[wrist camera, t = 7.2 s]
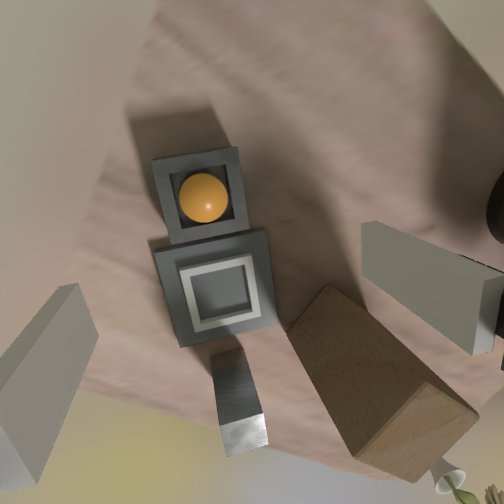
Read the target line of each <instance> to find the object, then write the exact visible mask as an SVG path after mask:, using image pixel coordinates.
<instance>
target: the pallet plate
mask: <svg viewBox="0 0 504 504" xmlns="http://www.w3.org/2000/svg"><path fill="white" fill-rule="evenodd" d="M154 256H155V260H156V263H157V267H158V270H159V274H160V278H161V281H162V285H163V288H164V292H165V295H166V299H167V302H168V306H169V310H170V313H171V317H172V320H173V324H174V327H175V331H176V335H177V338H178V342H179V345H180V348H182V347H186V346H190V345H194V344H198V343H202V342H206V341H210V340H214V339H218V338H222V337H226V336H230V335H234V334H238V333H242V332H246V331H250V330H254V329H258V328H261V327H265V326H269V325H273V324H277V323H278V315H277V308H276V300H275V293H274V285H273V277H272V270H271V262H270V255H269V247H268V240H267V232H266V230H265V229H264V228H261V229H256V230H251V231H246V232H241V233H237V234H232V235H227V236H222V237H217V238H212V239H207V240H202V241H197V242H193V243H188V244H183V245H178V246H173V247H168V248H163V249H158V250H154Z"/></svg>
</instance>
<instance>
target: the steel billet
mask: <svg viewBox="0 0 504 504" xmlns="http://www.w3.org/2000/svg"><path fill="white" fill-rule="evenodd" d="M210 361H211V368H212V376H213V383H214V390H215V398H216V405H217V412H218V420H219V427H220V431H221V435H222V438H223V443H224V447H225V450H226V454H227V457H228V456H232V455H235V454H238V453H242V452H245V451H248V450H251V449H254V448H258V447H261V446H264V445H267V444H268V438H267V432H266V427H265V421H264V415H263V411H262V408H261V405H260V401H259V398H258V395H257V391H256V388H255V385H254V381H253V378H252V375H251V371H250V368H249V365H248V362H247V358H246V355H245V352H244V348H239V349H235V350H231V351H228V352H224V353H220V354H216V355H212V356H210Z"/></svg>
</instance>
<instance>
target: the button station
mask: <svg viewBox="0 0 504 504" xmlns="http://www.w3.org/2000/svg"><path fill="white" fill-rule="evenodd" d="M150 164H151V168H152V172H153V176H154V180H155V184H156V187H157V191H158V195H159V199H160V203H161V207H162V211H163V215H164V219H165V223H166V227H167V230H168V234H169V238H170V242H171V245H173V244H178V243H183V242H188V241H193V240H198V239H203V238H208V237H213V236H218V235H222V234H227V233H232V232H237V231H242V230H247V229H250V226H249V219H248V213H247V206H246V200H245V193H244V186H243V180H242V173H241V167H240V160H239V154H238V147H233V146H231V147H225V148H219V149H212V150H206V151H200V152H194V153H188V154H181V155H175V156H169V157H163V158H157V159H152V160H151V161H150ZM196 172H207V173H210V174H212V175H214V176H215V177H216V178H218V180H219V181H220V182H221V183H222V184H223V185H224V187H225V189H226V191H227V195H228V203H227V207H226V209H225V211H224V212H223V214H222V215H221V216H220V217H219V218H217V219H216V220H213V221H211V222H197V221H194V220H192V219H191V218H189V217H188V216H187V215H186V214H185V213H184V211H183V210H182V208H181V205H180V198H179V195H180V187H181V185H182V183H183V181H184V180H185V179H186V178H187V177H188V176H189V175H191V174H193V173H196Z"/></svg>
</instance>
